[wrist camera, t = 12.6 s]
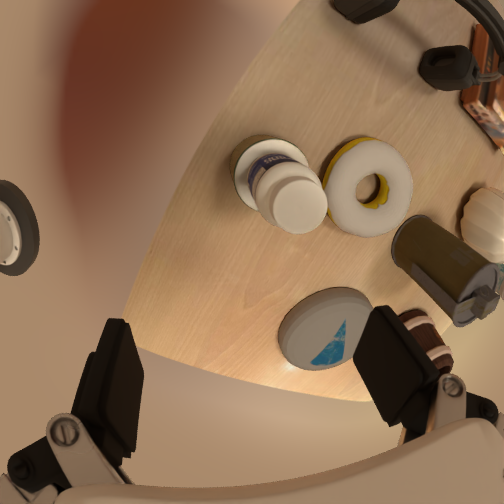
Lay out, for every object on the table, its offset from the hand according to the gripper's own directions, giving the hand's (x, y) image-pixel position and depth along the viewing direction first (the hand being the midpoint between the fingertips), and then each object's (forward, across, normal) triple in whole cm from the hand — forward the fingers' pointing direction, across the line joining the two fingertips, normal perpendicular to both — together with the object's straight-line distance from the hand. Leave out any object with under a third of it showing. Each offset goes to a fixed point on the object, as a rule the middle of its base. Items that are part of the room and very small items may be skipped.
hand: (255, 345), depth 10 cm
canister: (+27, -33, +8) cm, 43 cm away
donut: (+27, -20, 0) cm, 34 cm away
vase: (+27, -50, +2) cm, 56 cm away
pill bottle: (+20, -5, -2) cm, 21 cm away
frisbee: (+27, -19, +26) cm, 42 cm away
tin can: (+27, -5, -2) cm, 28 cm away
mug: (+27, -38, +30) cm, 55 cm away
